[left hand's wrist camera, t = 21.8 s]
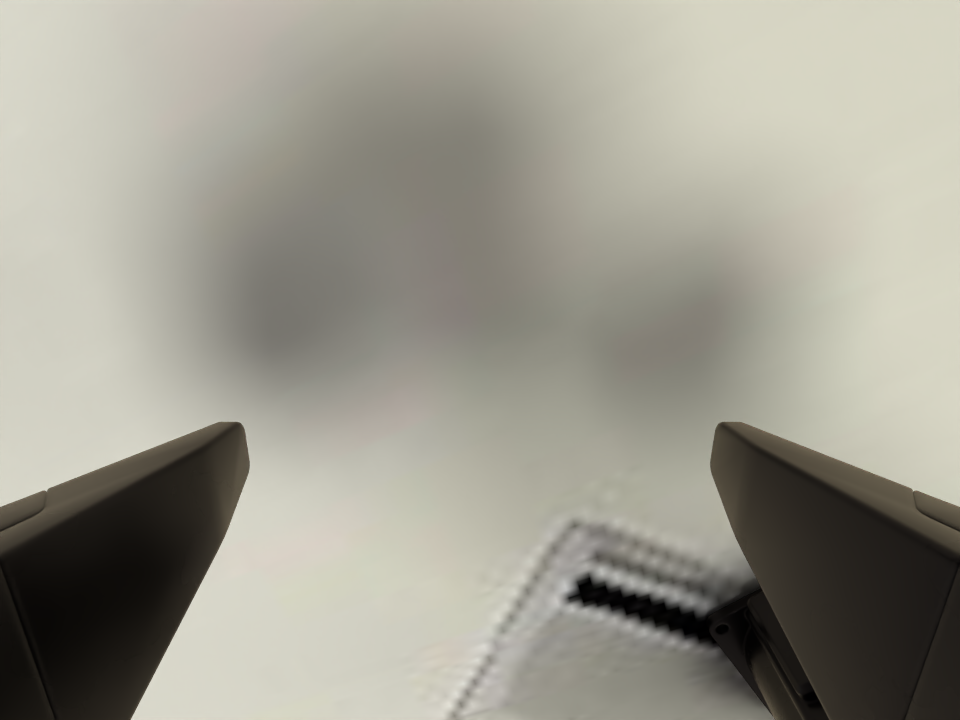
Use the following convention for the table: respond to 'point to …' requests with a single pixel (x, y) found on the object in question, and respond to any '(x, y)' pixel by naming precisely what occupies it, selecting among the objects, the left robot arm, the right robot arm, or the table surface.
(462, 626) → the table surface
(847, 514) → the left robot arm
